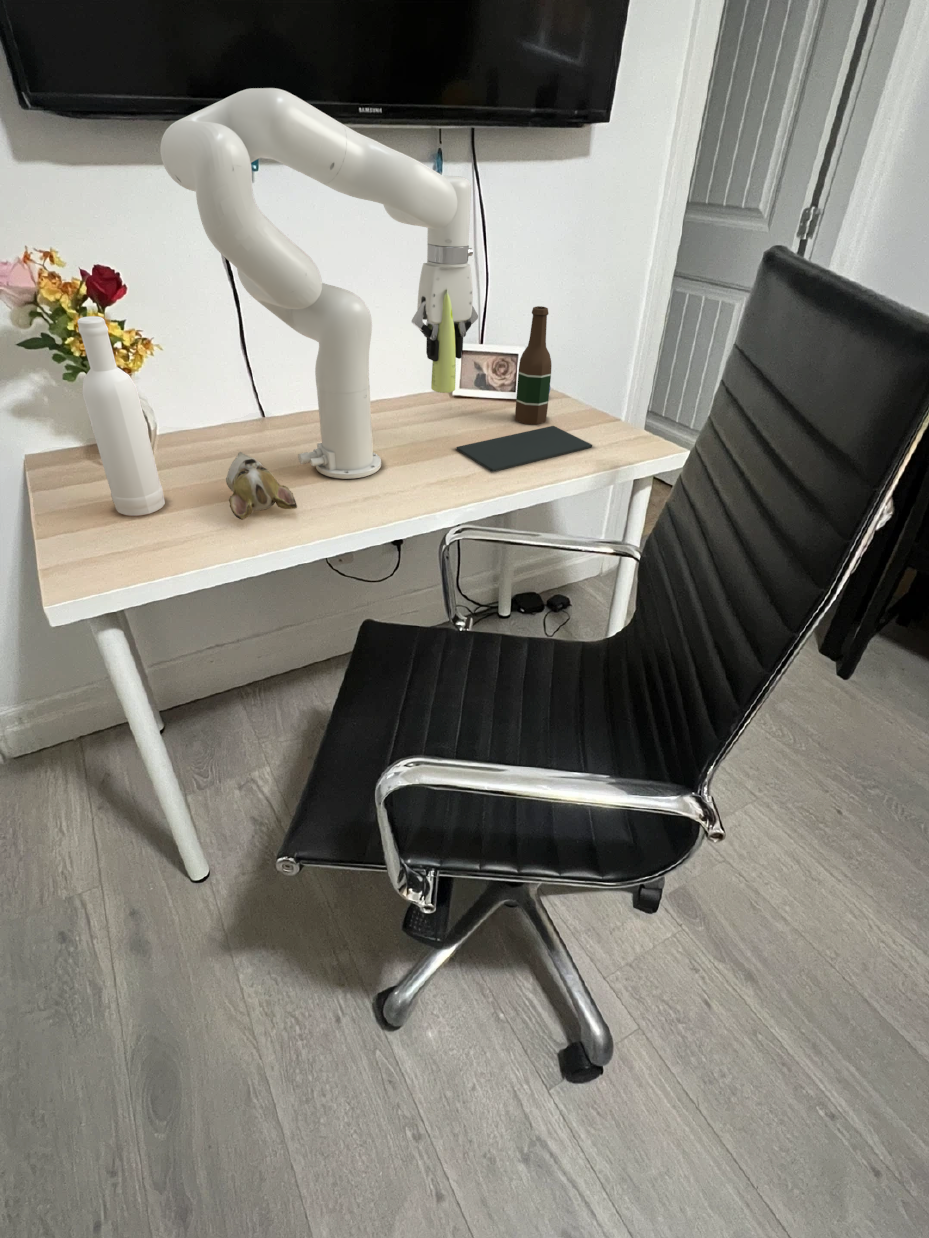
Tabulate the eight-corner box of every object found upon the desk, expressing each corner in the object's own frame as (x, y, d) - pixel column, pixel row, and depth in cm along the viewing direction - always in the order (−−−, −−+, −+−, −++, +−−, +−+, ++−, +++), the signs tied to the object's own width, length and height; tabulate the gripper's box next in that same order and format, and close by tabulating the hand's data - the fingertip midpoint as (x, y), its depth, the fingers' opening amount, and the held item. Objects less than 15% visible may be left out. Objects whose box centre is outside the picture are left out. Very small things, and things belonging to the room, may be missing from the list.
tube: (462, 391, 140) (466, 286, 128) (444, 396, 137) (446, 289, 125) (443, 384, 143) (446, 282, 132) (425, 389, 140) (426, 284, 129)
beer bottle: (508, 414, 160) (516, 304, 146) (539, 412, 162) (550, 303, 148) (520, 426, 154) (530, 312, 140) (552, 424, 156) (565, 311, 142)
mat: (492, 472, 133) (492, 469, 133) (456, 449, 142) (456, 446, 142) (592, 447, 145) (592, 444, 145) (553, 428, 154) (553, 425, 154)
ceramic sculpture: (268, 438, 120) (297, 474, 110) (274, 482, 126) (302, 521, 116) (206, 448, 116) (231, 487, 106) (215, 494, 121) (239, 535, 111)
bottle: (150, 491, 121) (103, 310, 104) (175, 505, 118) (130, 319, 100) (106, 506, 116) (49, 318, 99) (131, 521, 112) (76, 328, 95)
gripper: (474, 251, 132) (469, 350, 143) (397, 254, 124) (397, 358, 135) (496, 257, 127) (490, 358, 138) (418, 260, 119) (417, 368, 130)
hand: (444, 357), depth 136 cm, fingers closed on tube, 4 cm apart
